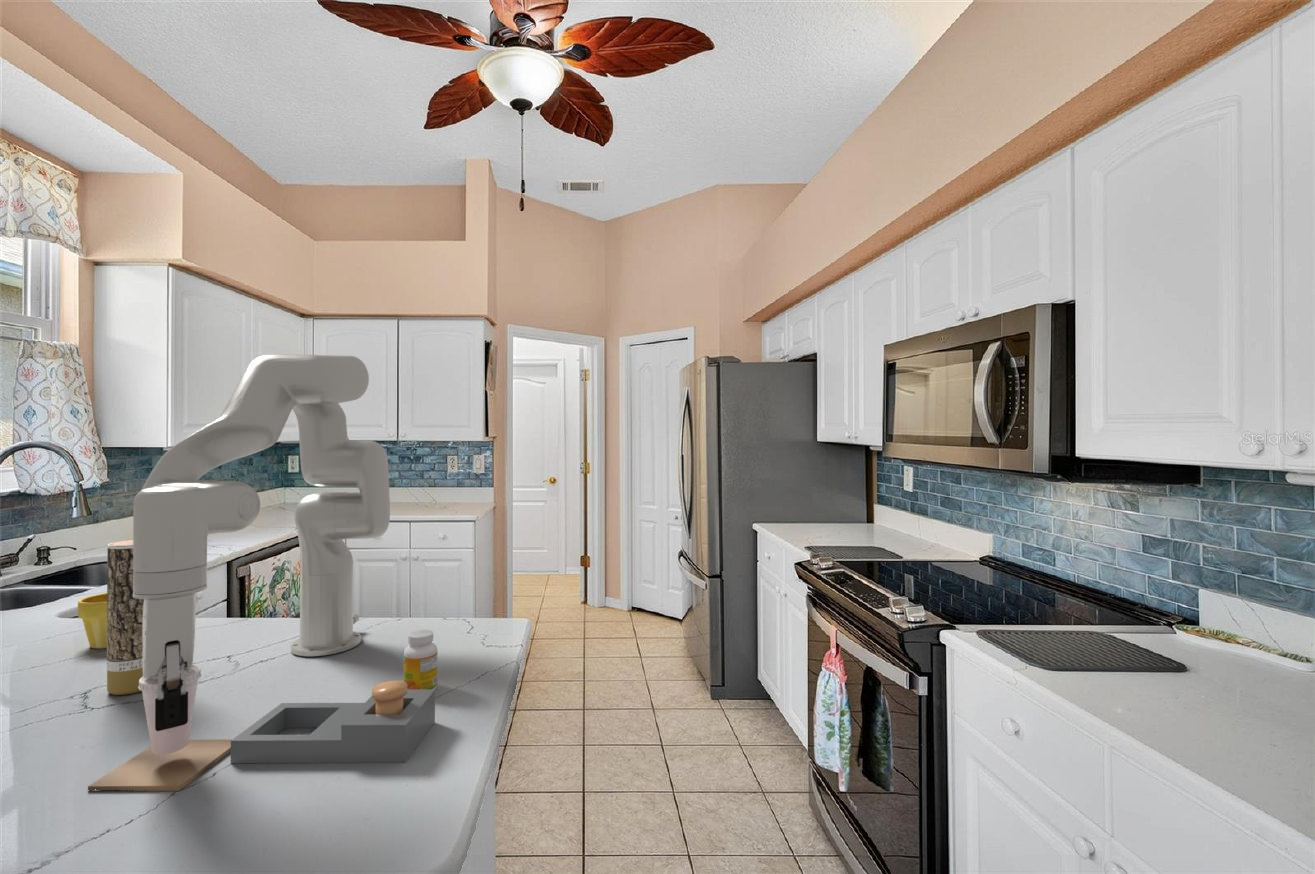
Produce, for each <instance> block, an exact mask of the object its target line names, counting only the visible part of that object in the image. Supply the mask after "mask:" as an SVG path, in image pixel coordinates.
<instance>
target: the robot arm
mask: <svg viewBox="0 0 1315 874" xmlns="http://www.w3.org/2000/svg"><path fill="white" fill-rule="evenodd" d="M369 375H370V374H369V372H368V369H367V366H366V364H365V363H364V362H363V360H361V359H360V358H359V357H357V356H353V355H326V354H324V355H323V354H283V353H282V354H279V353H278V354H276V353H275V354H264V355H261V356H258V357H256V358H255V359H253V360H252V361H251V362H250V363H249V364H248V366H247V367H246V369H245V371H244V373H243V375H242V376H241V378H240V380H239V382H238V383H237V386H236V387H235V389H234V391H233V392H232V393H231V394H232V395H231V397H230V398H229V400H228V402H227V404H226V405H225V407H224V410H223V411H222V413H221V414H220V416H219V417H218V418H217V419H216V420H214V421H212V422H210V423H207V424H206V425H205V426H203V427H201V428H199V429H198V430H196V431H195V432H193V433H191V434H190V435H188V436H187V437H186V438H184V439H182V440H181V441H179V442H178V443H176V444H175V445H174V446H172V447H171V448H170V449H169V450H167V451H166V452H165V453H164V454H163V455H162V456H161V457H160V458H159V460H158V461H157V463H156V464H155V465H154V467H153V468H152V470H151V472H150V474H149V475H148V477H147V478H146V480H145V482H144V485H143V486H142V488H141V490H140V491H138V492H137V494H135V496H134V499H133V506H132V507H133V510H132V511H133V513H132V514H133V516H132V517H133V518H132V519H133V520H132V521H133V524H132V525H133V527H132V529H133V533H132V534H133V537H132V538H133V539H132V540H133V570H134V571H133V597H134V598H137V599H144V603H143V618H142V666H143V677H144V678H146V679H150V676H154V675H156V674H157V672H158V676H157V678H158V698H156V699H155V730H156V731H161V730H165V729H169V728H173V727H177V726H181V725H185V724H186V723H187V722H188V692H186V671H188V670H189V669H190V668H191V667H192V665H193V663H194V652H195V639H196V617H197V616H196V615H197V614H196V611H197V610H196V609H197V603H196V602H197V593H199V592H202V591H204V590H206V589H207V588H208V536H209V535H210V534H211V535H213V534H214V535H215V534H231V533H236V532H238V531H241V530H243V529H246V528H247V527H249V526H251V524H252V523H253V522H254V521H255V520H256V519H257V518H258V515H259V513H260V509H261V500H260V496H259V494H258V492H257V491H256V490H255V489H254V488H253V487H252V486H251V485H249V484H246V483H245V482H241V481H235V480H209V479H208V480H207V479H206V480H200V478H202V477H203V476H204V475H206V474H207V473H208V472H210V471H212V470H213V469H215V468H217V467H219V466H221V465H224V464H227V463H229V462H233V461H236V460H238V459H241V458H244V457H249V456H250V455H254V454H256V453H258V452H262V451H264V450H267V449H269V448H270V447H272V446H274V445H275V444H276V443H277V442H278V440H279V438H281V437H280V436H281V434H282V432H283V429H284V427H285V425H286V423H287V421H288V418H289V417H290V414H291V412H292V410H293V412H294V415H295V417H296V420H297V425H298V426H297V427H298V428H297V429H298V437H299V438H298V439H299V440H298V441H299V442H298V443H299V457H300V468H301V469H300V471H301V474H302V478H303V479H304V482H306V483H307V484H308V485H311V486H314V487H324V488H325V487H327V488H331V487H332V488H338V487H339V488H340V487H341V488H343V487H344V488H345V487H346V488H347V487H348V488H349V487H351V488H352V487H353V488H354V487H356V488H357V489H358V491H359V492H347V491H346V492H345V491H344V492H343V491H341V492H339V491H338V492H337V491H336V492H335V491H334V492H333V491H327V492H326V491H325V492H323V491H322V492H316V493H311V494H308V495H305V496H303V498H301V499H300V500H299V502H298V503H297V505H296V507H295V511H294V523H295V524H294V525H295V529H296V532H297V538H298V543H299V545H298V546H299V559H300V561H299V562H300V563H299V564H300V567H299V569H300V572H299V578H300V580H299V582H300V583H299V584H300V585H299V587H300V588H299V589H300V590H299V597H300V598H299V639H296V640H295V641H293V642H292V643H291V645H290V652H291V653H292V654H293V655H296V656H298V657H323V656H330V655H335V654H339V653H342V652H345V651H346V652H347V651H349V650H351V649H353V648H355V647H357V646H358V645H360V643H361V641H362V634H360V633H359V632H356V631H354V625H355V624H356V623H358V622H359V620H360V616H359V614H357V613H354V558H353V555H352V551H351V550H350V549H349V547H348V546H347V545H346V543H345V541H344V540H352V539H353V540H355V539H357V540H359V539H360V540H361V539H362V540H364V539H366V540H368V539H376V538H379V537H382V536H384V535H385V533H386V532H387V530H388V529H389V525H390V519H391V518H390V517H391V503H390V501H391V500H390V499H391V498H390V477H389V476H390V475H389V473H390V471H389V462H388V456H387V452H386V451H385V448H384V447H383V446H382V445H381V444H380V443H378V442H376V441H373V440H368V439H367V440H364V439H361V440H357V439H356V440H355V439H353V440H352V439H349V437H348V427H347V416H346V413H345V411H344V410H343V408H342V406H341V403H346V402H347V403H348V402H353V401H357V400H358V399H360V398H361V397H362V396H363V395H364V394H365V393H366V392H367V390H368V386H369V380H370V377H369ZM165 644H166V655H165ZM179 665H182V669H179ZM163 668H167V672H164V673H162V669H163ZM163 678H167V681H164V684H163ZM163 689H164V693H163ZM163 696H164V697H163Z"/></svg>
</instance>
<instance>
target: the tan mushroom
mask: <svg viewBox="0 0 1315 874" xmlns="http://www.w3.org/2000/svg"><path fill="white" fill-rule="evenodd" d="M406 694H407V683H406V682H404V680H388V681H384V682H383V681H382V682H380V683H377V684H376V685H375V686H373V687H372V688H371V696H372V699H373V700H375V701H376V714H401V713H402V711H403V696H405V695H406Z"/></svg>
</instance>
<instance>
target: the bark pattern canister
mask: <svg viewBox="0 0 1315 874" xmlns="http://www.w3.org/2000/svg"><path fill="white" fill-rule="evenodd" d="M106 550H107V551H106V553H107V555H106V556H107V560H106V562H107V564H106V565H107V567H106V570H107V574H106V576H107V578H106V579H107V580H106V582H107V583H106V584H107V585H106V586H107V587H106V590H107V591H106V593H107V648H106V689H107V690H106V691H107V692H108V694H110V695H113V696H126V695H131V694H138V693H140V692H142V691H141V690H139V688H138V687H139V680H140V678H142V677H143V666H142V618H143V603H144V599H137V598H134V597H133V571H134V570H133V539H127V540H120V541H119V540H118V541H115V542H109V543H108V544H107V549H106Z"/></svg>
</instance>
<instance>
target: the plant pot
mask: <svg viewBox="0 0 1315 874" xmlns="http://www.w3.org/2000/svg"><path fill="white" fill-rule="evenodd" d="M77 616H78V618H79V619H81V620H82V622H83V627H84V630H85V633H86V637H87V641H88V645H89V648H92V649H98V650H99V649H107V592H104V593H103V592H102V593H98V594H94V595H90V596H89V595H88V596H86V597H83V598H80V599H79V600H78V601H77Z"/></svg>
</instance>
